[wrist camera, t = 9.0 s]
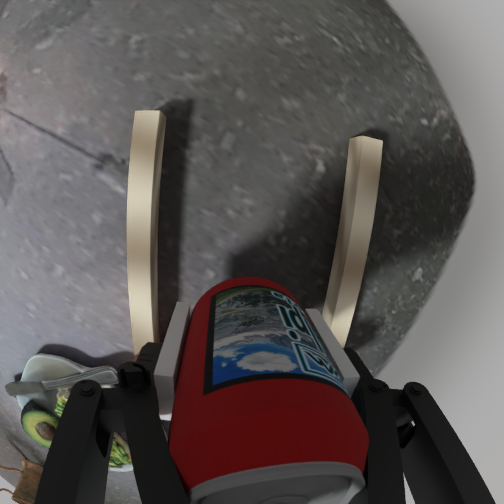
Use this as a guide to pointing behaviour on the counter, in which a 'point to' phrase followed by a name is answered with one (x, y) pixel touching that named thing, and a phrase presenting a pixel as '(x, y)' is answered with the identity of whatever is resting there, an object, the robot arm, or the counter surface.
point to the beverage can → (262, 405)
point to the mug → (26, 482)
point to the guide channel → (146, 229)
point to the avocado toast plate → (60, 399)
